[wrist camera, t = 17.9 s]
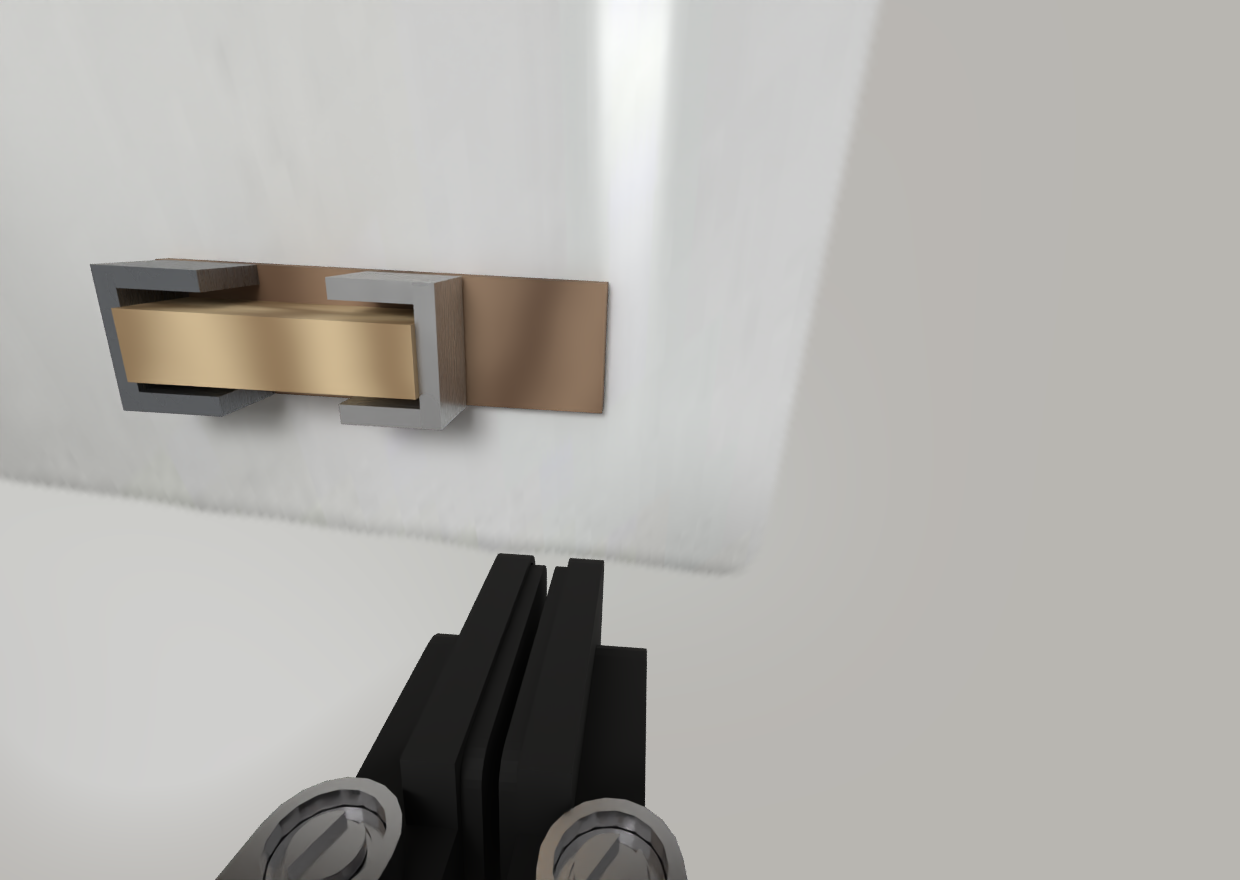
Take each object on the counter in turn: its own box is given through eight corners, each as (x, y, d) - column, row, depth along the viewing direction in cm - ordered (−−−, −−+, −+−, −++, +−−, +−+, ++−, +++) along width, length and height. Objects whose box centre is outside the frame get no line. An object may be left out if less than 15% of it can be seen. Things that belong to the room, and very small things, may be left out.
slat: (201, 360, 34) (127, 382, 29) (189, 296, 33) (111, 308, 28) (449, 375, 33) (415, 399, 29) (445, 311, 32) (410, 325, 27)
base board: (193, 383, 35) (180, 387, 34) (169, 258, 33) (155, 259, 32) (603, 408, 35) (601, 413, 34) (608, 282, 32) (607, 283, 31)
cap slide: (377, 401, 34) (341, 424, 30) (366, 271, 31) (324, 277, 27) (466, 406, 34) (441, 430, 30) (461, 276, 31) (433, 283, 27)
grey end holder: (189, 388, 34) (123, 410, 30) (164, 259, 32) (89, 264, 28) (275, 393, 34) (221, 416, 30) (257, 264, 32) (195, 270, 28)
